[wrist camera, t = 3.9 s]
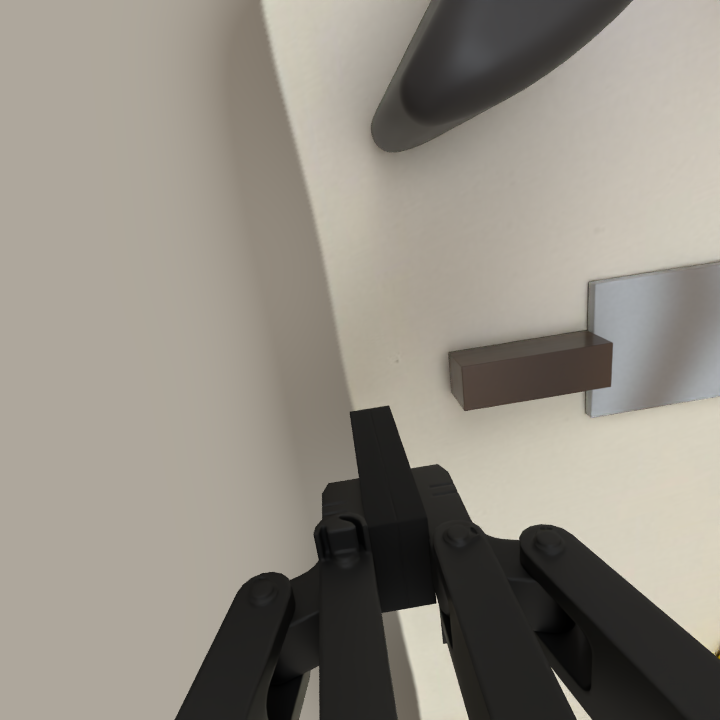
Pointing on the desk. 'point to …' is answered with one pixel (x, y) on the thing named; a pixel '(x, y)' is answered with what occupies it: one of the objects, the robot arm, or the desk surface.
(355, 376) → the desk surface
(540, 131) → the desk surface
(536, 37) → the leaning round-cornered charcoal block
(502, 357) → the spatula
